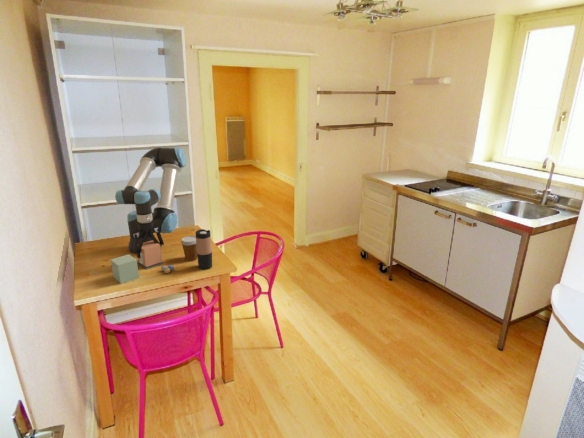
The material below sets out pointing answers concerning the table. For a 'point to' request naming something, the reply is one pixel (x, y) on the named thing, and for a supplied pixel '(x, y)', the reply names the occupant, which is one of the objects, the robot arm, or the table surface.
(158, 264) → the coaster
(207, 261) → the travel mug
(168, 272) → the marble amber
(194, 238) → the disposable coffee cup
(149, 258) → the dusty pink cube
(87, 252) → the table surface
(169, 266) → the marble blue
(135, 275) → the rounded sage cube
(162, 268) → the marble grey
